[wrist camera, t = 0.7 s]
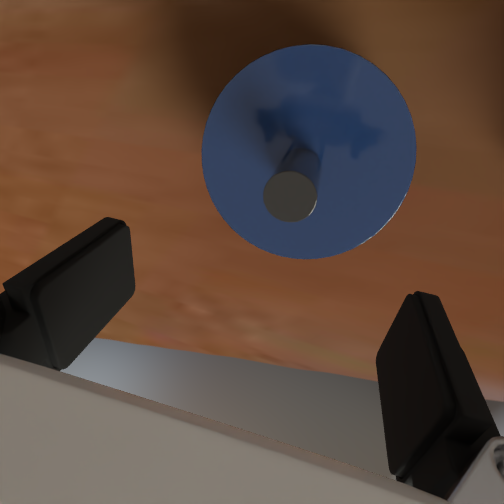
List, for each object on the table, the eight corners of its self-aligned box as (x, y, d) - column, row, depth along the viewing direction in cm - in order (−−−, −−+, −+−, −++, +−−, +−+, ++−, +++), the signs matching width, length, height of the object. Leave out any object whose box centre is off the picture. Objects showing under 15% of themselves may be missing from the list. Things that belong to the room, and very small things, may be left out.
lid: (212, 30, 20) (162, 15, 14) (454, 64, 18) (507, 63, 12) (203, 230, 28) (168, 272, 22) (370, 269, 26) (379, 326, 20)
